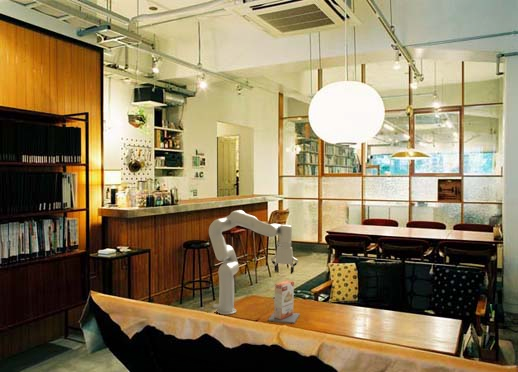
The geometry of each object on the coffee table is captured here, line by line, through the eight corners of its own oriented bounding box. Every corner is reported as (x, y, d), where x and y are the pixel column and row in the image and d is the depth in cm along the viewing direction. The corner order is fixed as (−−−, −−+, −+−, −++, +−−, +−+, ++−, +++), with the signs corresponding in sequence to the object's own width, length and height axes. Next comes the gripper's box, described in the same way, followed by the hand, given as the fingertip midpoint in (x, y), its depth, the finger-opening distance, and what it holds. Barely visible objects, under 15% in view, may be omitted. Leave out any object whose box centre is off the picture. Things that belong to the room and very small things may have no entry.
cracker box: (282, 320, 261) (282, 285, 261) (273, 318, 264) (274, 283, 264) (293, 314, 272) (294, 281, 272) (285, 312, 276) (286, 279, 276)
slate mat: (267, 321, 262) (267, 319, 262) (274, 312, 279) (274, 311, 279) (294, 323, 258) (294, 322, 258) (299, 315, 275) (299, 313, 275)
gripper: (269, 244, 267) (268, 272, 267) (297, 246, 262) (296, 275, 262) (272, 243, 274) (271, 270, 274) (300, 245, 269) (298, 272, 270)
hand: (283, 272), depth 268 cm, fingers open, 9 cm apart
